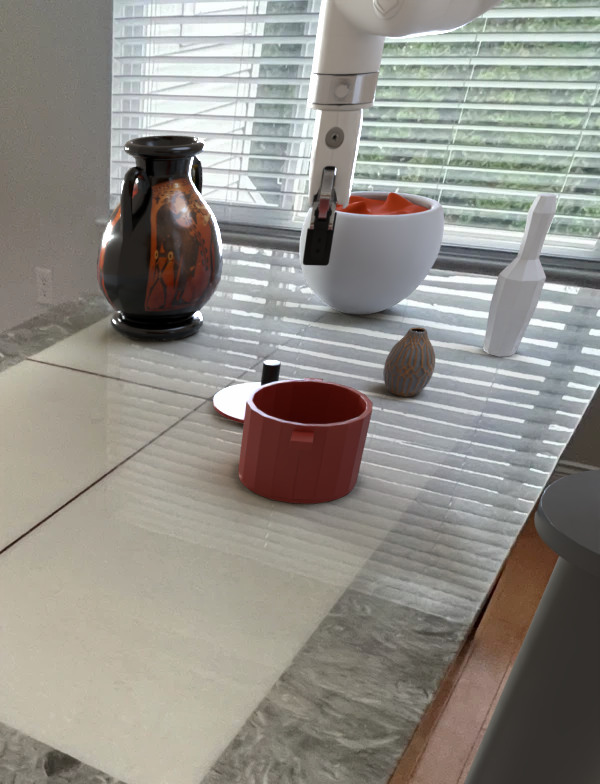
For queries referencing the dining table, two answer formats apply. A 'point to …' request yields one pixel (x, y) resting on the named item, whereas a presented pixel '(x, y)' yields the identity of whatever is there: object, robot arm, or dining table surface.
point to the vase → (410, 363)
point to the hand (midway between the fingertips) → (317, 255)
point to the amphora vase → (160, 242)
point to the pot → (376, 251)
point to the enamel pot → (303, 440)
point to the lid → (243, 393)
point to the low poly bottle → (520, 283)
